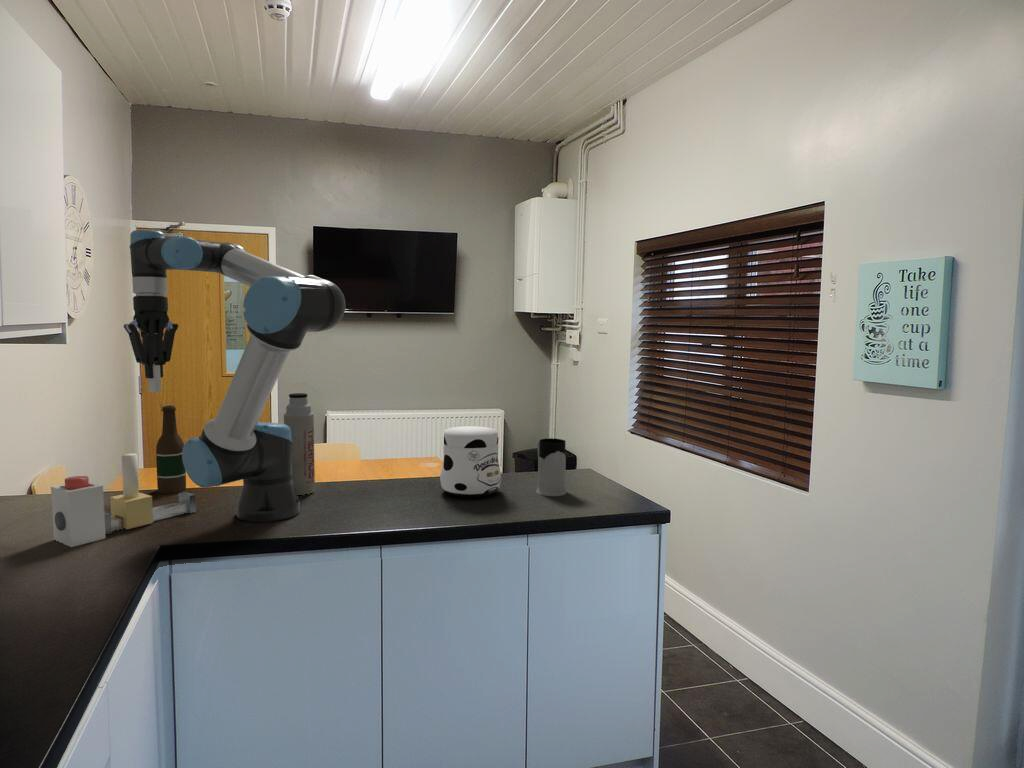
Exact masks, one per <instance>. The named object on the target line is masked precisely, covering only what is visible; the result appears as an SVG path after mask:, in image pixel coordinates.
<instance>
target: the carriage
mask: <svg viewBox="0 0 1024 768" xmlns="http://www.w3.org/2000/svg"><path fill="white" fill-rule="evenodd" d="M138 461H139V459H138V453H125V454H121V469H122V490H123V491H122V492H123V493H122V494H119V495H113V496H110V512H111V513H110V514H111V517H115V516H120V517H123V528H125V529H124V530H130V529H134V528H139V527H143V526H147V525H149V524H153V523H154V521H153V508H154V506H153V495H150V494H146V493H143V492H140V491H139V490H140V489H139V464H138Z"/></svg>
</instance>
